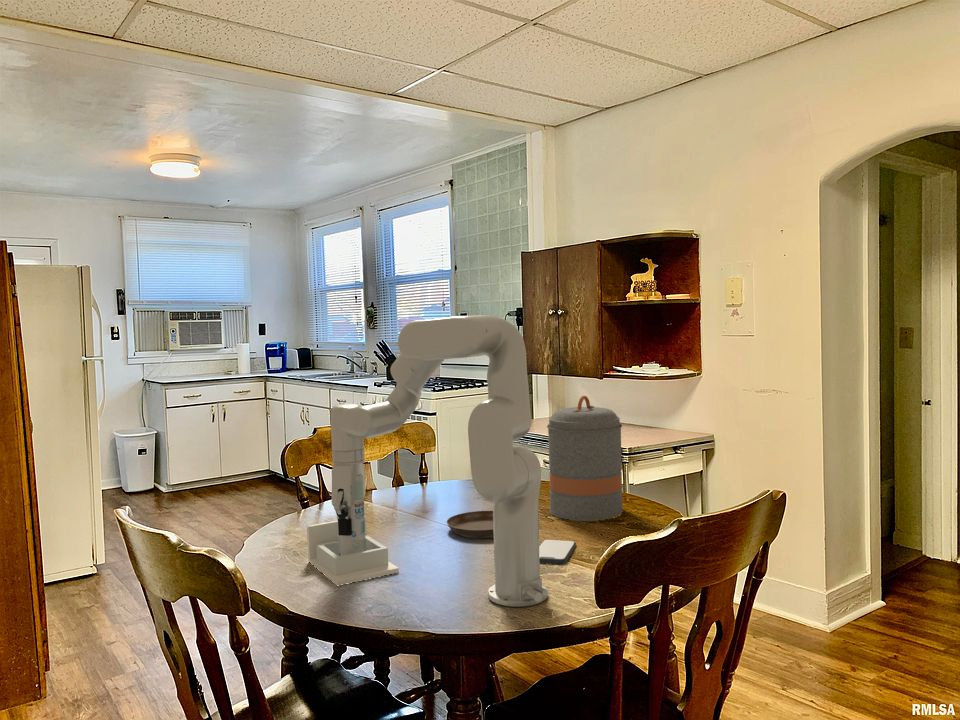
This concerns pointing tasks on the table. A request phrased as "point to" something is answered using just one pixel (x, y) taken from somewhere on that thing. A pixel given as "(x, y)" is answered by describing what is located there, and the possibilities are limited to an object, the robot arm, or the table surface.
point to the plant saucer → (473, 524)
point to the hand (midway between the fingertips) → (351, 530)
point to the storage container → (585, 463)
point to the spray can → (355, 523)
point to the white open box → (346, 556)
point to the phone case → (555, 551)
